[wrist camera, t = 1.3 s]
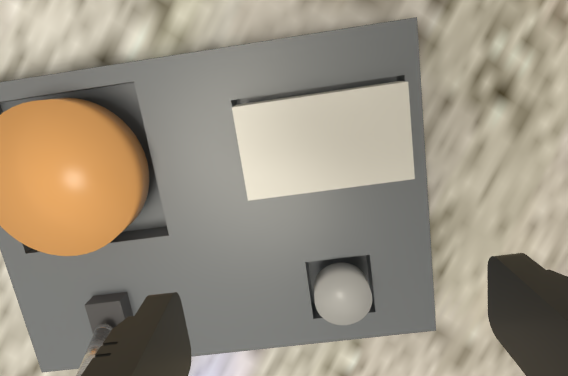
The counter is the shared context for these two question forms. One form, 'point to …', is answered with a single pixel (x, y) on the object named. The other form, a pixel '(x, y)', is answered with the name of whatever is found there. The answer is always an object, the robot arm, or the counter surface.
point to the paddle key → (325, 140)
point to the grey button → (342, 294)
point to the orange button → (69, 175)
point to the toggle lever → (94, 345)
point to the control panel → (234, 205)
